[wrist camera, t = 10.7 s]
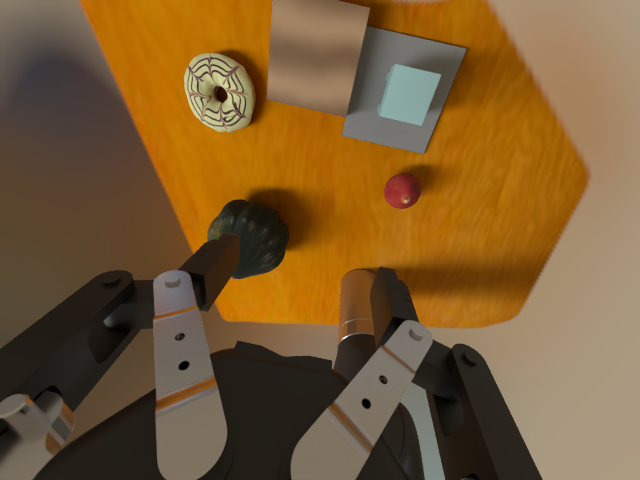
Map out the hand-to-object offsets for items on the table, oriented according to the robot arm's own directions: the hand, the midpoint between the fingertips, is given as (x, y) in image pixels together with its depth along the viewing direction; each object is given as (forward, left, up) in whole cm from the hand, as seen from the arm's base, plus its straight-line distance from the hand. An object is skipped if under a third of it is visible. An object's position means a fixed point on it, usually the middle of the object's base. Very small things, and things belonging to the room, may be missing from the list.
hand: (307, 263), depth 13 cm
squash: (-18, +13, -33) cm, 40 cm away
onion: (-3, -12, -33) cm, 35 cm away
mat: (+10, -7, -33) cm, 35 cm away
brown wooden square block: (+12, +6, -33) cm, 35 cm away
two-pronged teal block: (+10, -7, -32) cm, 34 cm away
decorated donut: (+5, +20, -33) cm, 39 cm away
